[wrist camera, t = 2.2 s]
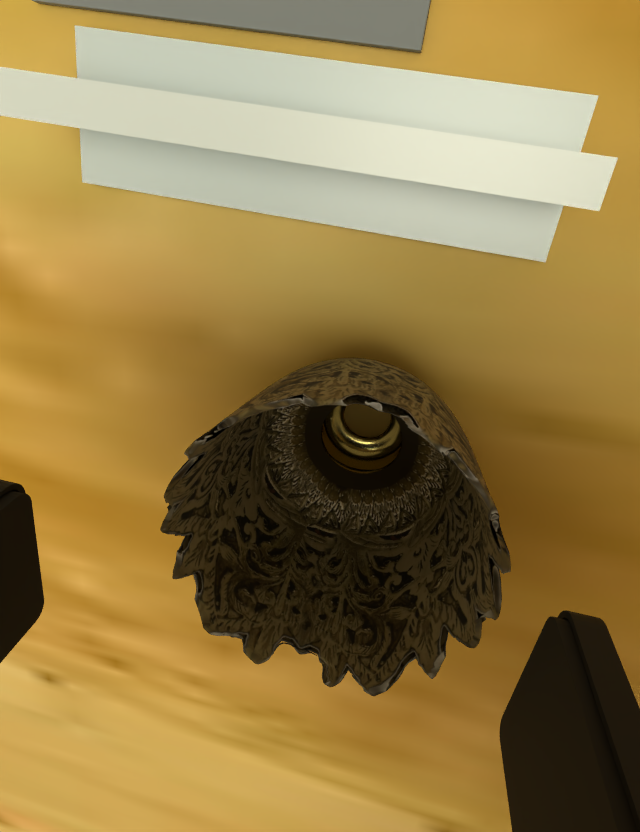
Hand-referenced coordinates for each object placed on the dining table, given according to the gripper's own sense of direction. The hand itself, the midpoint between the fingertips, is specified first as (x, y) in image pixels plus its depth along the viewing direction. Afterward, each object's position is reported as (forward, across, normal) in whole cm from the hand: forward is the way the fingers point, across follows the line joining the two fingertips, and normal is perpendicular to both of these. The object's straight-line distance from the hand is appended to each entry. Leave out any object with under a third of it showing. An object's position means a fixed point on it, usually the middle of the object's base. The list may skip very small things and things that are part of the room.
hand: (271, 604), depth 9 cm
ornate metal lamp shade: (+10, -1, 0) cm, 10 cm away
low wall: (+10, +2, -8) cm, 13 cm away
